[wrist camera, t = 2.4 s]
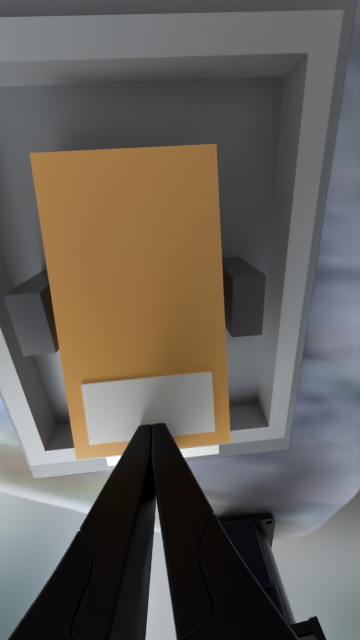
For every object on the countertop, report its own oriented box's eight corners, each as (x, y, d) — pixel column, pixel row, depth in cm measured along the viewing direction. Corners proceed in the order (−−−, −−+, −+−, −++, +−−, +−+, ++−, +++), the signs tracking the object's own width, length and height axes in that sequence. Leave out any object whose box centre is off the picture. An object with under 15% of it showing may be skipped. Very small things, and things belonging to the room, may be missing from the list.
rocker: (221, 420, 10) (231, 444, 9) (87, 434, 10) (75, 461, 9) (207, 164, 9) (217, 142, 7) (50, 173, 9) (28, 151, 7)
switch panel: (268, 411, 18) (315, 499, 13) (53, 434, 17) (8, 537, 12) (310, -15, 10) (492, -264, 5) (-94, -8, 9) (-441, -297, 4)
